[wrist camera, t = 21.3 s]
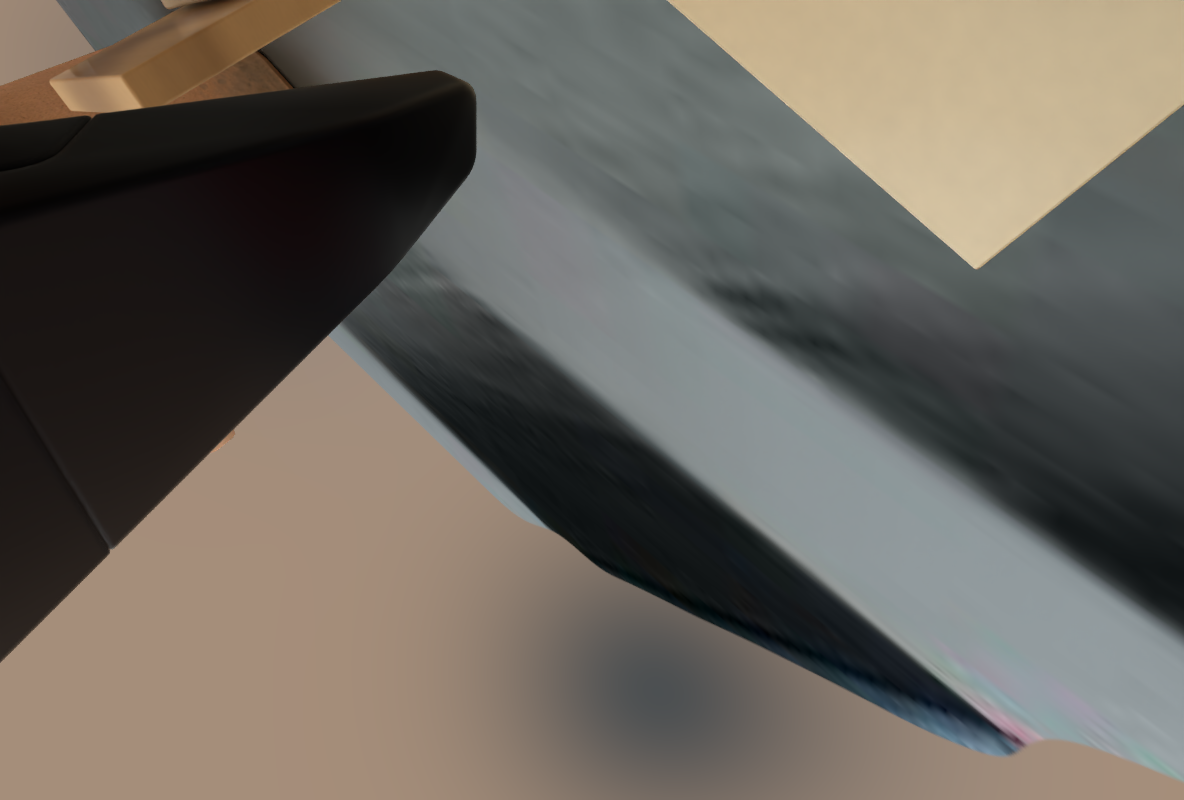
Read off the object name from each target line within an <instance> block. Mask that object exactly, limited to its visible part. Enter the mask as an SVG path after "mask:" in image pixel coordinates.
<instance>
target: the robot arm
mask: <svg viewBox="0 0 1184 800" xmlns="http://www.w3.org/2000/svg"><path fill="white" fill-rule="evenodd" d="M475 158H476V95H475V92H474V89H473V88H472V86H471V85H470V84H469V83H467V82H465V81H463V80H461V79H458V78H456V77H454V76H452V75H450V74H447V73H445V72H442V71H438V70H435V71H426V72H418V73H410V74H403V75H395V76H387V77H379V78H372V79H364V80H356V81H348V82H341V83H333V84H325V85H317V86H310V87H302V88H294V89H286V90H279V91H271V92H263V93H255V94H248V95H240V96H232V97H224V98H217V99H209V100H201V101H193V102H186V103H178V104H170V105H162V106H155V107H147V108H139V109H131V110H124V111H116V112H108V113H100V114H96V115H95V116H94V117H93V118H91V117H90V116H88V115H83V116H76V117H68V118H60V119H53V120H44V121H36V122H27V123H18V124H10V125H1V126H0V662H1V661H2V660H4V659H5V657H6V656H8V654H10V653H11V652H12V651H13V650H14V648H16V647H17V645H19V644H20V643H21V642H22V641H23V639H24V638H26V636H28V635H29V634H30V633H31V631H33V630H34V629H35V628H36V627H37V626H38V624H40V623H41V622H42V621H43V620H44V618H46V617H47V616H48V615H49V614H50V612H52V610H53V609H55V608H56V607H57V606H58V605H59V603H61V601H63V599H65V598H66V597H67V596H68V595H69V594H70V593H71V592H72V591H73V590H74V589H75V588H76V587H77V586H78V584H80V583H81V582H82V581H83V580H84V579H85V578H86V577H87V576H88V575H89V574H90V573H91V572H92V571H93V570H94V569H95V568H96V567H97V565H99V564H100V563H101V562H102V561H103V560H104V559H105V558H106V557H107V556H108V555H109V553H110V549H114V548H115V547H116V546H117V545H118V544H119V543H120V542H121V541H122V540H123V539H124V538H125V537H126V536H127V535H128V534H129V533H130V532H131V531H132V530H133V529H134V528H135V527H136V526H137V525H138V524H139V523H140V522H141V521H142V520H143V519H144V518H145V517H146V516H147V515H148V514H149V513H150V512H151V511H152V510H153V509H154V508H155V507H156V506H157V505H158V504H159V503H160V502H161V501H162V500H163V499H164V498H165V497H166V496H167V495H168V494H169V493H170V492H171V491H172V490H173V489H174V488H175V487H176V486H177V485H178V484H179V483H180V482H181V481H182V480H183V479H184V478H185V477H186V476H187V475H188V474H189V473H190V472H191V471H192V470H193V469H194V468H195V467H196V466H197V465H198V464H199V463H200V462H201V461H202V460H203V459H204V458H205V457H206V456H207V455H208V454H209V453H210V452H211V451H212V450H213V449H214V448H215V447H216V446H217V445H218V444H219V443H220V442H221V441H222V440H223V439H224V438H225V437H226V436H227V435H228V434H229V433H230V432H231V431H232V430H233V429H234V428H235V427H236V426H237V425H238V424H239V423H240V422H241V421H242V420H243V419H244V418H245V417H246V416H247V415H248V414H249V413H250V412H251V411H252V410H253V409H254V408H255V407H256V406H257V405H258V404H259V403H260V402H261V401H262V400H263V399H264V398H265V397H266V396H267V395H269V393H271V392H272V391H273V389H274V388H276V386H278V384H279V383H280V382H281V381H283V380H284V379H285V378H286V377H287V376H288V375H289V374H290V372H291V371H293V370H294V369H295V367H297V366H298V365H299V364H300V363H301V362H302V361H303V359H305V358H306V357H307V356H308V354H310V353H311V351H312V350H314V349H315V348H316V346H318V345H319V344H320V343H321V342H322V341H323V339H325V338H326V337H327V336H328V335H329V334H330V333H331V332H332V331H333V330H334V329H335V328H336V327H337V326H338V325H339V324H340V323H341V322H342V321H343V320H344V319H345V318H346V317H347V316H348V315H349V314H350V313H351V312H352V311H353V310H354V309H355V308H356V307H357V306H358V305H359V304H360V303H361V302H362V301H363V300H364V299H365V298H366V297H367V296H368V295H369V294H370V293H371V292H372V291H373V290H374V289H375V288H376V287H377V286H378V285H379V284H380V283H381V282H382V281H383V279H384V278H385V277H386V276H387V275H388V274H389V273H390V272H391V271H392V270H393V269H394V267H395V266H396V265H397V264H398V263H399V262H400V260H401V259H402V258H403V257H404V256H405V255H406V253H407V252H408V251H409V250H410V248H411V247H412V246H413V245H414V243H415V242H416V241H417V240H418V238H419V237H420V236H421V235H422V233H423V232H424V231H425V230H426V228H427V227H428V226H429V224H430V223H431V222H432V221H433V219H434V218H435V217H436V216H437V214H438V213H439V212H440V211H441V209H442V208H443V207H444V206H445V204H446V203H447V202H448V201H449V199H450V198H451V197H452V196H453V194H454V193H455V192H456V191H457V189H458V188H459V187H460V186H461V184H462V183H463V182H464V181H465V179H466V178H467V177H468V175H469V174H470V172H471V170H472V168H473V165H474V162H475Z"/></svg>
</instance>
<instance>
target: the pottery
mask: <svg viewBox="0 0 1184 800" xmlns="http://www.w3.org/2000/svg"><path fill="white" fill-rule="evenodd" d="M109 47H110V46H109ZM106 48H108V47H106ZM106 48H103V49H101V50H98V51H95V52H93V53H90V54H87V55H84V56H82V57H79V58H76V59H73V60H71V61H68V62H65V63H62V64H59V65H57V66H54V67H52V68H48V69H46V70H43V71H40V72H37V73H35V74H32V75H29V76H26V77H24V78H21V79H18V80H15V81H13V82H10V83H7V84H5V85H2V86H0V126H1V125H10V124H18V123H27V122H36V121H44V120H53V119H60V118H68V117H76V116H83V115H88V116H90V117H91V118H93V117H94V116H95V115H96V114H100V113H102V112H80V111H71V110H70V109H69V108H68V107H67V105H66V104H65V103H64V101H63V100H62V99H61V97H60V96H59V95H58V93H57V92H56V91H55V90H54V88H53V87H52V86H51V84H50V82H49V81H50V79H52V78H53V77H55V76H57V75H59V74H61V73H62V72H64V71H66V70H68V69H70V68H72V67H73V66H75V65H77V64H79V63H81V62H83V61H84V60H86V59H88V58H90V57H92V56H93V55H95V54H97V53H99V52H101V51H103V50H104V49H106ZM286 89H294V88H293V87H292V86H291V85H290V84H289V83H288V82H287V81H286V79H285V78H284V77H283V76H282V75H281V74H280V73H279V72H278V71H277V69H276V68H275V67H274V66H273V65H272V64H271V63H270V62H269V61H268V59H267V58H265V57H264V56H263V55H262V54H261V53H259V52H258V51H256V52H254V53H252V54H251V55H249V56H247V57H246V58H244V59H242V60H240V61H239V62H237V63H235V64H234V65H232V66H230V67H229V68H227V69H225V70H224V71H222V72H220V73H219V74H217V75H215V76H214V77H212V78H210V79H209V80H207V81H205V82H203V83H202V84H200V85H198V86H197V87H195V88H193V89H192V90H190V91H188V92H187V93H185V94H183V95H182V96H180V97H178V98H177V99H175V100H173V101H172V102H170V103H168V104H167V105H170V104H178V103H186V102H193V101H201V100H209V99H217V98H224V97H232V96H240V95H248V94H255V93H263V92H271V91H279V90H286ZM234 435H235V432H234V429H233V430H232V431H231V432H230V433H229V434H228V435H227V436H226V437H225V438H224V439H223V440H222V441H221V442H220V443H219V444H218V445H217V446H216V447H215V448H214V449H213V450H212V451H211V452H210V453H212V452H215V451H217V450H218V449H219V448H220V447H222V446H223V445H224V444H226V443H227V442H228V441H229V440H231V439H232V438H233V436H234Z"/></svg>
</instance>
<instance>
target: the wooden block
mask: <svg viewBox="0 0 1184 800" xmlns="http://www.w3.org/2000/svg"><path fill="white" fill-rule="evenodd" d="M667 1H669V2H670V3H671V4H672V5H673V6H674V7H675V8H677V9H678V10H679V11H680V12H681V13H682V14H683V15H685V16H686V17H687V18H688V19H689V20H690V21H691V22H693V23H694V24H695V25H696V26H697V27H698V28H699V29H701V30H702V31H703V32H704V33H705V34H706V35H708V36H709V37H710V38H711V39H712V40H713V41H714V42H716V43H717V44H718V45H719V46H720V47H721V48H722V49H724V50H725V51H726V52H727V53H728V54H729V55H730V56H732V57H733V58H734V59H735V60H736V61H737V62H738V63H740V64H741V65H742V66H743V67H744V68H745V69H746V70H748V71H749V72H750V73H751V74H752V75H753V76H754V77H756V78H757V79H758V80H759V81H760V82H761V83H762V84H764V85H765V86H766V87H767V88H768V89H769V90H771V91H772V92H773V93H774V94H775V95H776V96H777V97H779V98H780V99H781V100H782V101H783V102H784V103H785V104H787V105H788V106H789V107H790V108H791V109H792V110H793V111H795V112H796V113H797V114H798V115H799V116H800V117H801V118H803V119H804V120H805V121H806V122H807V123H808V124H809V125H811V126H812V127H813V128H814V129H815V130H816V131H817V132H819V133H820V134H821V135H822V136H823V137H824V138H825V139H827V140H828V141H829V142H830V143H831V144H832V145H834V146H835V147H836V148H837V149H838V150H839V151H840V152H842V153H843V154H844V155H845V156H846V157H847V158H848V159H850V160H851V161H852V162H853V163H854V164H855V165H856V166H858V167H859V168H860V169H861V170H862V171H863V172H864V173H866V174H867V175H868V176H869V177H870V178H871V179H872V180H874V181H875V182H876V183H877V184H878V185H879V186H880V187H882V188H883V189H884V190H885V191H886V192H887V193H888V194H890V195H891V196H892V197H893V198H894V199H895V200H897V201H898V202H899V203H900V204H901V205H902V206H903V207H905V208H906V209H907V210H908V211H909V212H910V213H911V214H913V215H914V216H915V217H916V218H917V219H918V220H919V221H921V222H922V223H923V224H924V225H925V226H926V227H927V228H929V229H930V230H931V231H932V232H933V233H934V234H935V235H937V236H938V237H939V238H940V239H941V240H942V241H943V242H945V243H946V244H947V245H948V246H949V247H950V248H952V249H953V250H954V251H955V252H956V253H957V254H958V255H960V256H961V257H962V258H963V259H964V260H965V261H966V262H968V263H969V264H970V265H971V266H972V267H973V268H974V269H979V268H980V267H982V266H983V265H984V264H985V263H987V262H988V261H989V260H990V259H992V258H993V257H994V256H995V255H997V254H998V253H999V252H1000V251H1002V250H1003V249H1004V248H1005V247H1007V246H1008V245H1009V244H1010V243H1012V242H1013V241H1014V240H1015V239H1017V238H1018V237H1019V236H1020V235H1022V234H1023V233H1024V232H1025V231H1027V230H1028V229H1029V228H1030V227H1032V226H1033V225H1034V224H1035V223H1037V222H1038V221H1039V220H1040V219H1042V218H1043V217H1044V216H1045V215H1047V214H1048V213H1049V212H1050V211H1052V210H1053V209H1054V208H1055V207H1057V206H1058V205H1059V204H1060V203H1062V202H1063V201H1064V200H1065V199H1067V198H1068V197H1069V196H1070V195H1072V194H1073V193H1074V192H1075V191H1077V190H1078V189H1079V188H1080V187H1082V186H1083V185H1084V184H1085V183H1087V182H1088V181H1089V180H1090V179H1092V178H1093V177H1094V176H1095V175H1097V174H1098V173H1099V172H1100V171H1102V170H1103V169H1104V168H1105V167H1107V166H1108V165H1109V164H1110V163H1112V162H1113V161H1114V160H1115V159H1117V158H1118V157H1119V156H1120V155H1122V154H1123V153H1124V152H1125V151H1127V150H1128V149H1129V148H1130V147H1132V146H1133V145H1134V144H1135V143H1137V142H1138V141H1139V140H1140V139H1142V138H1143V137H1144V136H1145V135H1147V134H1148V133H1149V132H1150V131H1152V130H1153V129H1154V128H1155V127H1157V126H1158V125H1159V124H1160V123H1162V122H1163V121H1164V120H1165V119H1167V118H1168V117H1169V116H1170V115H1172V114H1173V113H1174V112H1175V111H1177V110H1178V109H1179V108H1180V107H1182V106H1183V105H1184V0H667Z"/></svg>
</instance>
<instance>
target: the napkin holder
mask: <svg viewBox="0 0 1184 800" xmlns="http://www.w3.org/2000/svg"><path fill="white" fill-rule="evenodd" d="M340 1H341V0H161V2H162V3H163V5H164V6H165V7H166V8H167V9H173V8H177V7H181V8H179V9H177V10H176V11H174V12H172V13H170V14H168V15H166V16H165V17H163V18H161V19H159V20H157V21H156V22H154V23H152V24H150V25H148V26H146V27H145V28H143V29H141V30H139V31H137V32H135V33H134V34H132V35H130V36H128V37H126V38H125V39H123V40H121V41H119V42H117V43H115V44H114V45H112V46H110V47H108V48H106V49H104V50H103V51H101V52H99V53H97V54H95V55H93V56H92V57H90V58H88V59H86V60H84V61H83V62H81V63H79V64H77V65H75V66H73V67H72V68H70V69H68V70H66V71H64V72H62V73H61V74H59V75H57V76H55V77H53V78H52V79H50V81H49V82H50V84H51V86H52V87H53V88H54V90H55V91H56V92H57V93H58V95H59V96H60V97H61V99H62V100H63V101H64V103H65V104H66V105H67V107H68V108H69V109H70V110H71V111H80V112H102V113H108V112H116V111H124V110H131V109H139V108H147V107H155V106H162V105H167V104H168V103H170V102H172V101H173V100H175V99H177V98H178V97H180V96H182V95H183V94H185V93H187V92H188V91H190V90H192V89H193V88H195V87H197V86H198V85H200V84H202V83H203V82H205V81H207V80H209V79H210V78H212V77H214V76H215V75H217V74H219V73H220V72H222V71H224V70H225V69H227V68H229V67H230V66H232V65H234V64H235V63H237V62H239V61H240V60H242V59H244V58H246V57H247V56H249V55H251V54H252V53H254V52H256V51H257V50H259V49H261V48H262V47H264V46H266V45H267V44H269V43H271V42H272V41H274V40H276V39H277V38H279V37H281V36H282V35H284V34H286V33H288V32H289V31H291V30H293V29H294V28H296V27H298V26H299V25H301V24H303V23H304V22H306V21H308V20H309V19H311V18H313V17H314V16H316V15H318V14H319V13H321V12H323V11H324V10H326V9H328V8H330V7H331V6H333V5H335V4H336V3H338V2H340ZM182 6H183V7H182Z"/></svg>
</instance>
